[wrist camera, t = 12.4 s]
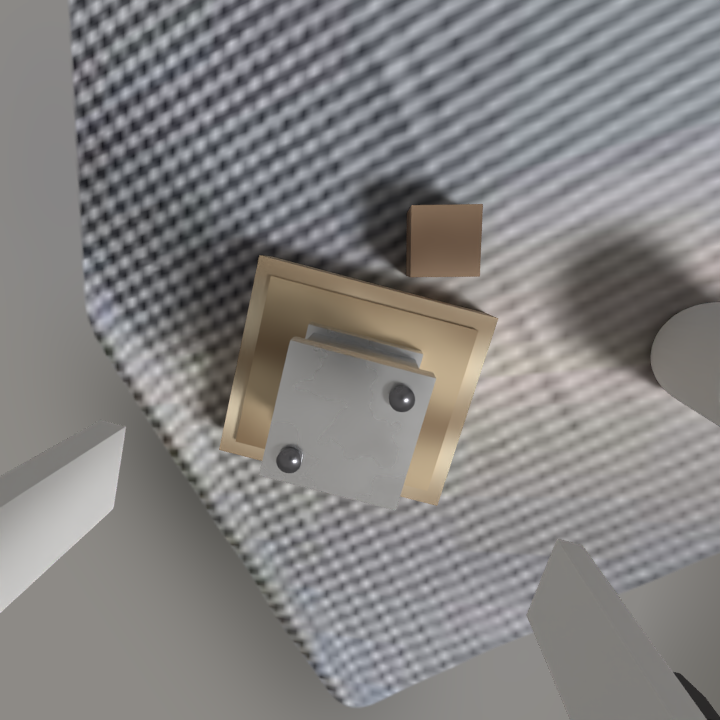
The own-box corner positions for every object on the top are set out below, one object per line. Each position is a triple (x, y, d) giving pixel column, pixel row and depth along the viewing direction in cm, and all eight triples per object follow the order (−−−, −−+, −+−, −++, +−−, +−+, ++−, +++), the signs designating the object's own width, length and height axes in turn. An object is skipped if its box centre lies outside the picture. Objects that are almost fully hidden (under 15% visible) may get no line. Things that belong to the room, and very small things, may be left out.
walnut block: (406, 213, 29) (411, 205, 26) (468, 212, 29) (482, 204, 25) (406, 275, 30) (410, 277, 26) (466, 275, 30) (479, 276, 26)
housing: (286, 426, 29) (256, 479, 22) (311, 321, 28) (288, 341, 20) (391, 453, 29) (396, 514, 22) (421, 350, 28) (437, 380, 21)
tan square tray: (270, 256, 30) (258, 255, 27) (486, 313, 30) (499, 319, 27) (233, 433, 33) (217, 451, 30) (431, 484, 33) (437, 508, 30)
